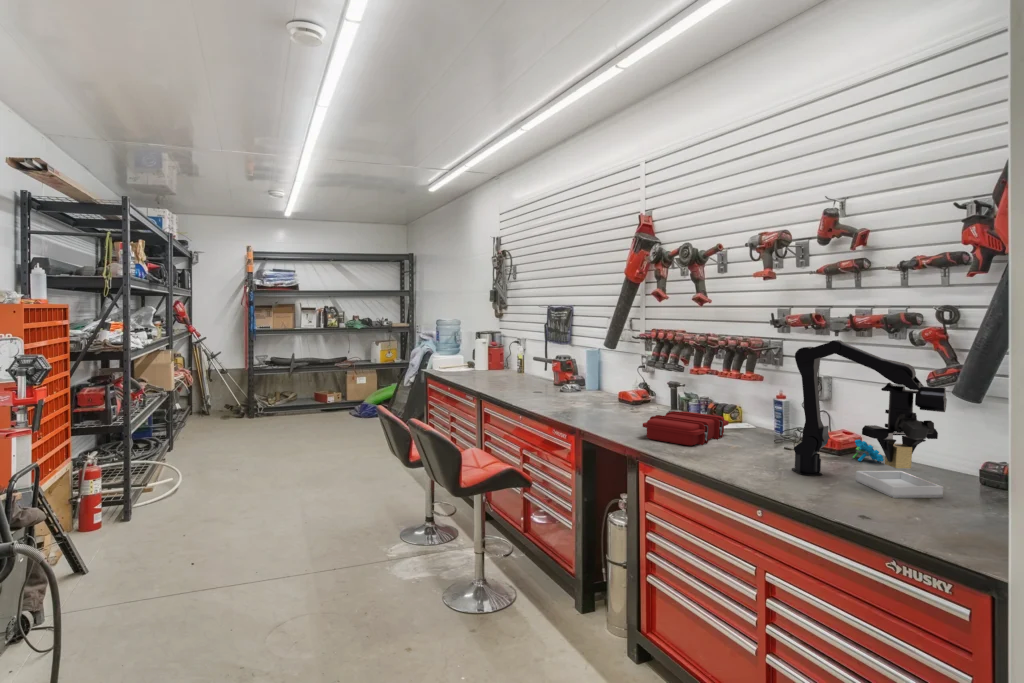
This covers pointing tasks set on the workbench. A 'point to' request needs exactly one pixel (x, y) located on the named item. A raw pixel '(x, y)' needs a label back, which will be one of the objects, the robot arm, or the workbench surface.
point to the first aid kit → (685, 427)
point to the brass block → (900, 456)
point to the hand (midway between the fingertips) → (898, 461)
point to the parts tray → (899, 484)
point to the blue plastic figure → (866, 451)
